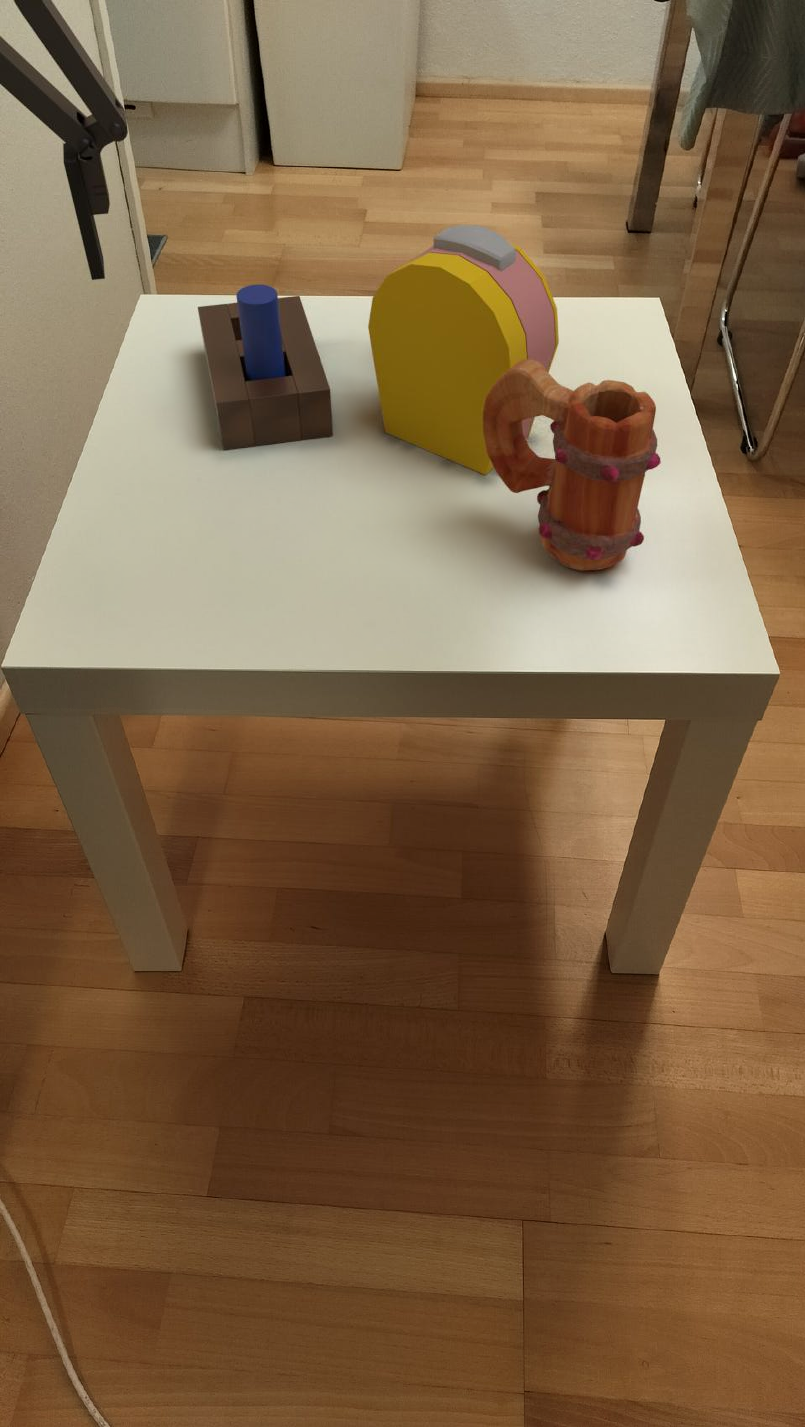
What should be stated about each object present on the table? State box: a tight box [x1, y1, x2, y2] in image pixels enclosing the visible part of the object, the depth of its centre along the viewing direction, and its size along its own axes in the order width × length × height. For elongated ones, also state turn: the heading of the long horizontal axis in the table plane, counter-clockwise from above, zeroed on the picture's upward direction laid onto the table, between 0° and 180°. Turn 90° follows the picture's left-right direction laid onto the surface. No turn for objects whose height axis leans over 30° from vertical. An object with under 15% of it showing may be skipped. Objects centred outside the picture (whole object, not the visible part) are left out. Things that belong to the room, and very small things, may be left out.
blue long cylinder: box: [235, 283, 285, 381], centre depth 93 cm, size 4×4×12 cm
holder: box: [197, 295, 334, 451], centre depth 98 cm, size 10×18×5 cm, turn 13°
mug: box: [483, 359, 662, 571], centre depth 79 cm, size 15×8×15 cm, turn 58°
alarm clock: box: [367, 224, 560, 476], centre depth 88 cm, size 15×8×18 cm, turn 54°
